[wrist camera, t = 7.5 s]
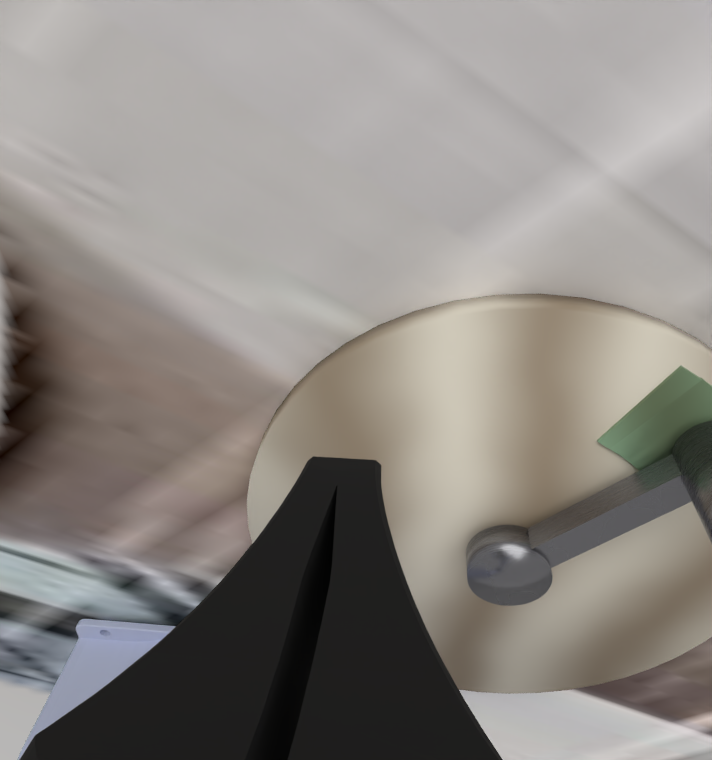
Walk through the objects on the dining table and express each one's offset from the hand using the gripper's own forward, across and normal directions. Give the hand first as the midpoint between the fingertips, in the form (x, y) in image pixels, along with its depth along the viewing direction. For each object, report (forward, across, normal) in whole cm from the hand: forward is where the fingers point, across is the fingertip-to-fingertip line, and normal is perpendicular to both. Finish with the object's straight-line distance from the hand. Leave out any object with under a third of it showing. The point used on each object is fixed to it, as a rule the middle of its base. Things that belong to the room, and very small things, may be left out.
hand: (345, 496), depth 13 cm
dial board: (+9, -5, +10) cm, 15 cm away
